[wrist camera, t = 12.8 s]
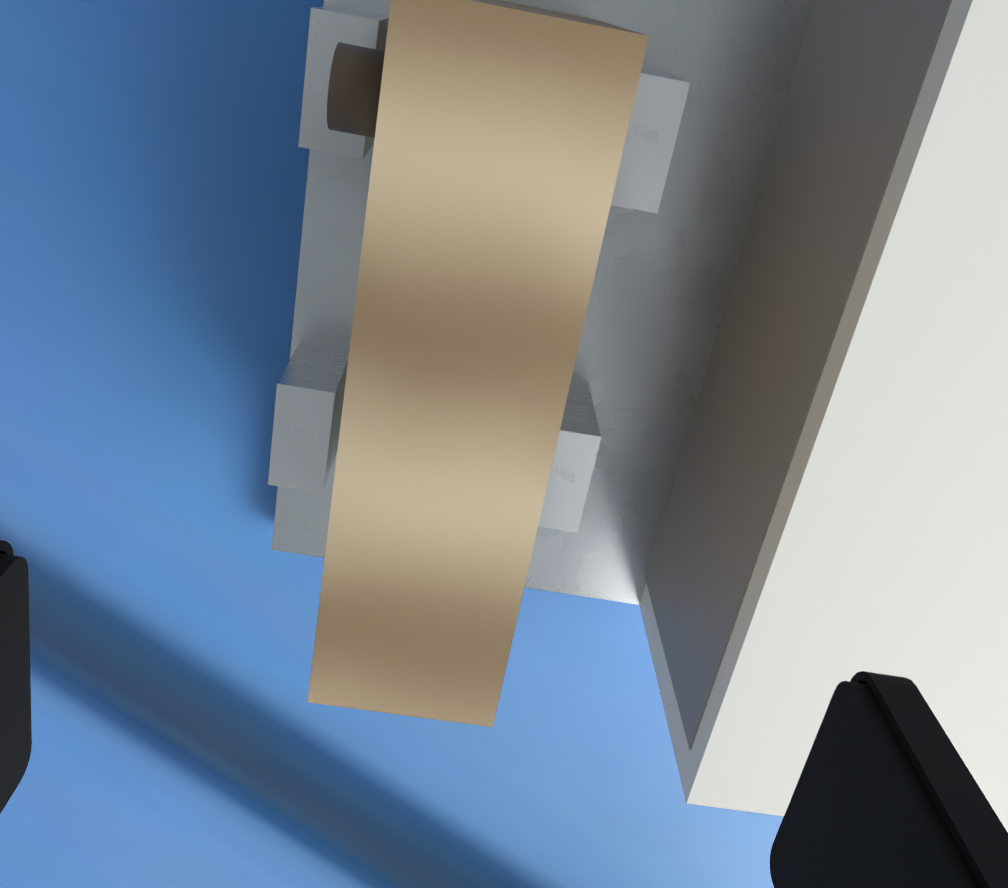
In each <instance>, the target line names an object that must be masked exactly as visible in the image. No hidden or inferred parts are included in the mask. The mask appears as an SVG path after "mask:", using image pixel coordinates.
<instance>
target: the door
mask: <svg viewBox="0 0 1008 888" xmlns="http://www.w3.org/2000/svg"><path fill="white" fill-rule="evenodd" d="M648 38H649V36H648V35H645V34H641V33H638V32H635V31H632V30H628V29H625V28H622V27H619V26H615V25H612V24H609V23H606V22H602V21H599V20H596V19H593V18H589V17H584V16H579V15H574V14H569V13H564V12H559V11H554V10H549V9H544V8H539V7H534V6H529V5H524V4H519V3H514V2H509V1H504V0H391V5H390V13H389V22H388V30H387V38H386V47H385V51H382V50H377V49H372V48H367V47H361V46H356V45H351V44H346V43H341V42H339V43H338V44H337V46H336V49H335V52H334V56H333V60H332V66H331V71H330V78H329V86H328V97H327V125H328V129H329V130H334V131H339V132H345V133H350V134H356V135H361V136H367V137H372V138H375V139H374V148H373V156H372V164H371V173H370V181H369V190H368V198H367V206H366V215H365V223H364V232H363V240H362V248H361V257H360V265H359V274H358V282H357V290H356V299H355V307H354V316H353V324H352V332H351V341H350V349H349V358H348V366H347V374H346V383H345V391H344V400H343V408H342V416H341V425H340V433H339V442H338V450H337V458H336V467H335V475H334V484H333V492H332V500H331V509H330V517H329V526H328V534H327V542H326V551H325V559H324V568H323V576H322V584H321V593H320V601H319V610H318V618H317V626H316V635H315V643H314V652H313V660H312V669H311V677H310V685H309V694H308V702H309V703H317V704H324V705H332V706H339V707H347V708H354V709H362V710H369V711H376V712H384V713H391V714H399V715H406V716H414V717H421V718H429V719H436V720H444V721H451V722H459V723H466V724H474V725H481V726H488V727H493V723H494V719H495V714H496V710H497V706H498V701H499V697H500V692H501V688H502V683H503V679H504V675H505V670H506V666H507V661H508V657H509V652H510V648H511V644H512V639H513V635H514V630H515V626H516V622H517V617H518V613H519V608H520V604H521V599H522V595H523V591H524V586H525V582H526V577H527V573H528V568H529V564H530V560H531V555H532V551H533V546H534V542H535V538H536V533H537V529H538V524H539V520H540V515H541V511H542V507H543V502H544V498H545V493H546V489H547V484H548V480H549V476H550V471H551V467H552V462H553V458H554V453H555V449H556V445H557V440H558V436H559V431H560V427H561V423H562V418H563V414H564V409H565V405H566V400H567V396H568V392H569V387H570V383H571V378H572V374H573V369H574V365H575V361H576V356H577V352H578V347H579V343H580V339H581V334H582V330H583V325H584V321H585V316H586V312H587V308H588V303H589V299H590V294H591V290H592V285H593V281H594V277H595V272H596V268H597V263H598V259H599V254H600V250H601V246H602V241H603V237H604V232H605V228H606V224H607V219H608V215H609V210H610V206H611V201H612V197H613V193H614V188H615V184H616V179H617V175H618V170H619V166H620V162H621V157H622V153H623V148H624V144H625V139H626V135H627V131H628V126H629V122H630V117H631V113H632V109H633V104H634V100H635V95H636V91H637V86H638V82H639V78H640V73H641V69H642V64H643V60H644V55H645V51H646V47H647V42H648Z"/></svg>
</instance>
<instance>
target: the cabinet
mask: <svg viewBox="0 0 1008 888" xmlns="http://www.w3.org/2000/svg"><path fill="white" fill-rule="evenodd" d="M645 580H646V584H645V587H644V591H643V594H642V598H641V601H640V604H639V605H640V609H641V613H642V618H643V622H644V626H645V630H646V635H647V639H648V643H649V647H650V651H651V656H652V660H653V664H654V668H655V673H656V677H657V681H658V685H659V690H660V694H661V698H662V702H663V706H664V711H665V715H666V719H667V723H668V728H669V732H670V736H671V740H672V744H673V749H674V753H675V757H676V761H677V766H678V770H679V774H680V778H681V783H682V787H683V791H684V795H685V799H686V803H687V804H695V805H703V806H710V807H718V808H725V809H733V810H740V811H748V812H756V813H763V814H771V815H778V816H784V815H785V813H786V810H787V808H788V805H789V803H790V800H791V798H792V795H793V793H794V790H795V788H796V785H797V783H798V780H799V778H800V775H801V773H802V770H803V768H804V765H805V763H806V760H807V758H808V755H809V753H810V750H811V748H812V745H813V743H814V740H815V738H816V735H817V733H818V730H819V728H820V725H821V723H822V720H823V718H824V715H825V713H826V710H827V708H828V705H829V703H830V700H831V698H832V695H833V693H834V691H835V689H836V687H837V685H838V684H839V683H840V682H842V681H849V682H850V681H851V679H852V677H853V676H854V675H855V674H856V673H857V672H861V671H866V672H872V673H879V674H885V675H892V676H899V677H905V678H908V679H910V680H912V681H913V683H914V684H915V685H916V686H917V688H918V689H919V691H920V693H921V694H922V696H923V697H924V699H925V701H926V702H927V704H928V705H929V707H930V709H931V710H932V712H933V713H934V715H935V717H936V718H937V720H938V721H939V723H940V725H941V726H942V728H943V729H944V731H945V733H946V734H947V736H948V738H949V739H950V741H951V742H952V744H953V746H954V747H955V749H956V750H957V752H958V754H959V755H960V757H961V758H962V760H963V762H964V763H965V765H966V766H967V768H968V770H969V771H970V773H971V774H972V776H973V778H974V779H975V781H976V783H977V784H978V786H979V787H980V789H981V791H982V792H983V794H984V795H985V797H986V799H987V800H988V802H989V803H990V805H991V807H992V808H993V810H994V811H995V813H996V815H997V816H998V818H999V820H1000V821H1001V823H1002V824H1003V826H1004V828H1005V829H1006V831H1007V832H1008V0H815V2H814V5H813V9H812V12H811V15H810V19H809V22H808V26H807V29H806V32H805V36H804V39H803V43H802V46H801V50H800V53H799V56H798V60H797V63H796V67H795V70H794V73H793V77H792V80H791V84H790V87H789V90H788V94H787V97H786V101H785V104H784V108H783V111H782V114H781V118H780V121H779V125H778V128H777V131H776V135H775V138H774V142H773V145H772V149H771V152H770V155H769V159H768V162H767V166H766V169H765V172H764V176H763V179H762V183H761V186H760V190H759V193H758V196H757V200H756V203H755V207H754V210H753V213H752V217H751V220H750V224H749V227H748V230H747V234H746V237H745V241H744V244H743V248H742V251H741V254H740V258H739V261H738V265H737V268H736V271H735V275H734V278H733V282H732V285H731V289H730V292H729V295H728V299H727V302H726V306H725V309H724V312H723V316H722V319H721V323H720V326H719V329H718V333H717V336H716V340H715V343H714V347H713V350H712V353H711V357H710V360H709V364H708V367H707V370H706V374H705V377H704V381H703V384H702V388H701V391H700V394H699V398H698V401H697V405H696V408H695V411H694V415H693V418H692V422H691V425H690V428H689V432H688V435H687V439H686V442H685V446H684V449H683V452H682V456H681V459H680V463H679V466H678V469H677V473H676V476H675V480H674V483H673V487H672V490H671V493H670V497H669V500H668V504H667V507H666V510H665V514H664V517H663V521H662V524H661V528H660V531H659V534H658V538H657V541H656V545H655V548H654V551H653V555H652V558H651V562H650V565H649V568H648V572H647V575H646V579H645Z"/></svg>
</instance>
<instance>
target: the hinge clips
mask: <svg viewBox="0 0 1008 888" xmlns="http://www.w3.org/2000/svg"><path fill="white" fill-rule="evenodd" d="M504 1H509V2H514V3H519V4H524V5H529V6H534V7H539V8H544V9H549V10H554V11H559V12H564V13H569V14H574V15H579V16H584V17H589V18H593V19H596V20H599V21H602V22H606V23H609V24H612V25H615V26H619V27H622V28H625V29H628V30H632V31H635V32H638V33H641V34H645V35H648V36H649V38H648V42H647V47H646V51H645V55H644V60H643V64H642V69H641V73H640V78H639V82H638V86H637V91H636V95H635V100H634V104H633V109H632V113H631V117H630V122H629V126H628V131H627V135H626V139H625V144H624V148H623V153H622V157H621V162H620V166H619V170H618V175H617V179H616V184H615V188H614V193H613V197H612V201H611V206H610V210H609V215H608V219H607V224H606V228H605V232H604V237H603V241H602V246H601V250H600V254H599V259H598V263H597V268H596V272H595V277H594V281H593V285H592V290H591V294H590V299H589V303H588V308H587V312H586V316H585V321H584V325H583V330H582V334H581V339H580V343H579V347H578V352H577V356H576V361H575V365H574V369H573V374H572V378H571V383H570V387H569V392H568V396H567V400H566V405H565V409H564V414H563V418H562V423H561V427H560V431H559V436H558V440H557V445H556V449H555V453H554V458H553V462H552V467H551V471H550V476H549V480H548V484H547V489H546V493H545V498H544V502H543V507H542V511H541V515H540V520H539V524H538V529H537V533H536V538H535V542H534V546H533V551H532V555H531V560H530V564H529V568H528V573H527V577H526V582H525V586H524V587H525V588H531V589H538V590H545V591H551V592H558V593H565V594H571V595H578V596H585V597H591V598H598V599H605V600H611V601H618V602H625V603H631V604H638V605H639V604H640V601H641V598H642V594H643V591H644V587H645V584H646V580H645V579H646V575H647V572H648V568H649V565H650V562H651V558H652V555H653V551H654V548H655V545H656V541H657V538H658V534H659V531H660V528H661V524H662V521H663V517H664V514H665V510H666V507H667V504H668V500H669V497H670V493H671V490H672V487H673V483H674V480H675V476H676V473H677V469H678V466H679V463H680V459H681V456H682V452H683V449H684V446H685V442H686V439H687V435H688V432H689V428H690V425H691V422H692V418H693V415H694V411H695V408H696V405H697V401H698V398H699V394H700V391H701V388H702V384H703V381H704V377H705V374H706V370H707V367H708V364H709V360H710V357H711V353H712V350H713V347H714V343H715V340H716V336H717V333H718V329H719V326H720V323H721V319H722V316H723V312H724V309H725V306H726V302H727V299H728V295H729V292H730V289H731V285H732V282H733V278H734V275H735V271H736V268H737V265H738V261H739V258H740V254H741V251H742V248H743V244H744V241H745V237H746V234H747V230H748V227H749V224H750V220H751V217H752V213H753V210H754V207H755V203H756V200H757V196H758V193H759V190H760V186H761V183H762V179H763V176H764V172H765V169H766V166H767V162H768V159H769V155H770V152H771V149H772V145H773V142H774V138H775V135H776V131H777V128H778V125H779V121H780V118H781V114H782V111H783V108H784V104H785V101H786V97H787V94H788V90H789V87H790V84H791V80H792V77H793V73H794V70H795V67H796V63H797V60H798V56H799V53H800V50H801V46H802V43H803V39H804V36H805V32H806V29H807V26H808V22H809V19H810V15H811V12H812V9H813V5H814V2H815V0H504ZM390 5H391V0H324V5H323V6H318V7H311V12H310V23H309V34H308V45H307V56H306V67H305V78H304V89H303V100H302V111H301V122H300V134H299V145H298V147H302V148H307V149H310V152H309V162H308V173H307V183H306V194H305V204H304V215H303V225H302V236H301V246H300V257H299V267H298V278H297V288H296V299H295V309H294V320H293V330H292V341H291V351H290V361H289V362H288V364H287V366H286V368H285V370H284V372H283V373H282V375H281V377H280V379H279V381H278V383H277V389H276V400H275V411H274V422H273V433H272V444H271V455H270V466H269V477H268V485H273V486H278V488H277V498H276V509H275V519H274V530H273V540H272V550H278V551H284V552H291V553H298V554H304V555H311V556H318V557H324V558H325V551H326V542H327V534H328V526H329V517H330V509H331V500H332V492H333V484H334V475H335V467H336V458H337V450H338V442H339V433H340V425H341V416H342V408H343V400H344V391H345V383H346V374H347V366H348V358H349V349H350V341H351V332H352V324H353V316H354V307H355V299H356V290H357V282H358V274H359V265H360V257H361V248H362V240H363V232H364V223H365V215H366V206H367V198H368V190H369V181H370V173H371V164H372V156H373V148H374V139H375V138H372V137H367V136H361V135H356V134H350V133H345V132H339V131H334V130H329V129H328V125H327V97H328V86H329V78H330V71H331V66H332V60H333V56H334V52H335V49H336V46H337V44H338V43H339V42H341V43H346V44H351V45H356V46H361V47H367V48H372V49H377V50H382V51H385V47H386V38H387V30H388V22H389V13H390Z"/></svg>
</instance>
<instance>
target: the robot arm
mask: <svg viewBox="0 0 1008 888" xmlns="http://www.w3.org/2000/svg"><path fill="white" fill-rule="evenodd" d="M31 744H32V740H31V689H30V639H29V588H28V565H27V562H26V559H25V558H23V557H20V556H14V554H13V549H12V547H11V545H10V544H9V543H8V542H7V541H2V540H0V813H1V812H2V810H3V808H4V807H5V805H6V804H7V802H8V800H9V799H10V797H11V796H12V794H13V792H14V791H15V789H16V788H17V786H18V784H19V783H20V781H21V779H22V777H23V775H24V773H25V771H26V768H27V765H28V762H29V758H30V753H31ZM770 872H771V878H772V882H773V885H774V888H1008V832H1007V831H1006V829H1005V828H1004V826H1003V824H1002V823H1001V821H1000V820H999V818H998V816H997V815H996V813H995V811H994V810H993V808H992V807H991V805H990V803H989V802H988V800H987V799H986V797H985V795H984V794H983V792H982V791H981V789H980V787H979V786H978V784H977V783H976V781H975V779H974V778H973V776H972V774H971V773H970V771H969V770H968V768H967V766H966V765H965V763H964V762H963V760H962V758H961V757H960V755H959V754H958V752H957V750H956V749H955V747H954V746H953V744H952V742H951V741H950V739H949V738H948V736H947V734H946V733H945V731H944V729H943V728H942V726H941V725H940V723H939V721H938V720H937V718H936V717H935V715H934V713H933V712H932V710H931V709H930V707H929V705H928V704H927V702H926V701H925V699H924V697H923V696H922V694H921V693H920V691H919V689H918V688H917V686H916V685H915V684H914V683H913V681H912V680H910V679H908V678H905V677H899V676H892V675H885V674H879V673H872V672H866V671H861V672H857V673H856V674H855V675H854V676H853V677H852V679H851V681H850V682H849V681H842V682H840V683H839V684H838V685H837V687H836V689H835V691H834V693H833V695H832V698H831V700H830V703H829V705H828V708H827V710H826V713H825V715H824V718H823V720H822V723H821V725H820V728H819V730H818V733H817V735H816V738H815V740H814V743H813V745H812V748H811V750H810V753H809V755H808V758H807V760H806V763H805V765H804V768H803V770H802V773H801V775H800V778H799V780H798V783H797V785H796V788H795V790H794V793H793V795H792V798H791V800H790V803H789V805H788V808H787V810H786V813H785V815H784V818H783V820H782V823H781V825H780V828H779V830H778V833H777V835H776V838H775V840H774V843H773V846H772V849H771V855H770Z"/></svg>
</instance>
